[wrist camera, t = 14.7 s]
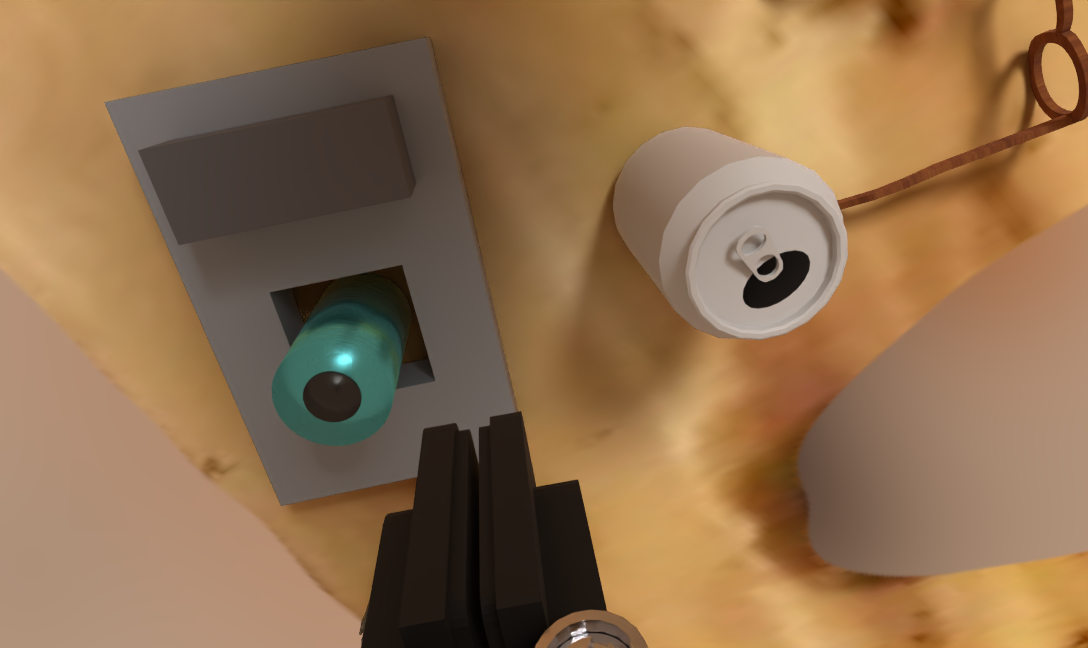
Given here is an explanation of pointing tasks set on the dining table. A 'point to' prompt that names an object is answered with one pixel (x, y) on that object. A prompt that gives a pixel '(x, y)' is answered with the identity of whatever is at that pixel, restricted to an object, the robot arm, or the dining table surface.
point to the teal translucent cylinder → (345, 362)
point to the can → (731, 232)
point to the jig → (323, 240)
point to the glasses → (1084, 66)
